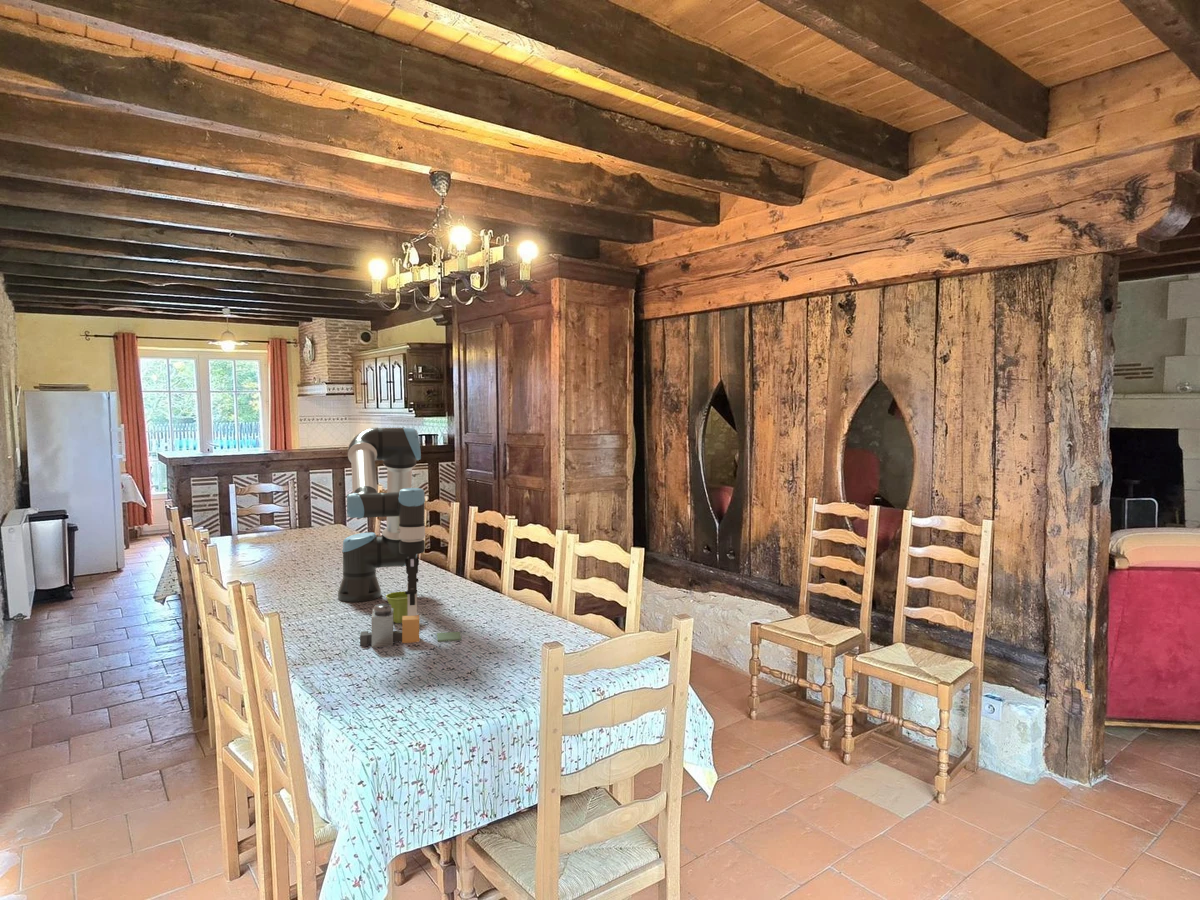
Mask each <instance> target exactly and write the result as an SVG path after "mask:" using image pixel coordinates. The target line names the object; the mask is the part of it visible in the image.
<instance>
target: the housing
mask: <svg viewBox="0 0 1200 900" xmlns="http://www.w3.org/2000/svg"><path fill="white" fill-rule="evenodd" d="M393 631H394V622H393V608H391V604H389V603H379V604H375V605H374V606H373V608H372V614H371V633H372V644H371V648H385V647H393V646H394V643H393Z"/></svg>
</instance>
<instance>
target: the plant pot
mask: <svg viewBox="0 0 1200 900" xmlns="http://www.w3.org/2000/svg"><path fill="white" fill-rule="evenodd" d="M405 591H406V590H405ZM405 591H395V592H390V593H388V594H386V596H385V598H386V600H387V602H388V604H391V608H393V623H394V624H402V616H408V599H407V594H405Z"/></svg>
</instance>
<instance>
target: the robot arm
mask: <svg viewBox="0 0 1200 900" xmlns="http://www.w3.org/2000/svg"><path fill="white" fill-rule="evenodd" d="M419 437H420V436H419V433H418V431H417V429H415V428H413V427H370V428H367V429H364V430H362V431H361V432H359V433H358V434H356V435H355V437H353V439H352V440H351V441H350V442H349V445H348V447H347V458H348V459H347V460H349V462H350V463H351V464H350V465H351V486H352V488H351V490H352V493H348V494H347V496H346V516H347V517H348V518H353V519H356V518H357V519H365V518H383V517H384V518H385V517H386V527H385V528H384V529H383V530H382V532H381V536H377V534H376V533H375V532H372V531H370V532H361V533H354V534H352V535H349V536H347V537H345V538H344V539H343V541H342V550H341V551H342V579H341V581H340V582H341V583H340V585H339V588H338V591H337V599H338V600H340V601H343V602H348V603H349V602H352V603H355V602H367V601H372V600H376V599H378V598H380V597H382V596H381V595H382V589H381V586H380V583H379V580H378V577H377V569H378V568H381V569H383V568H394V567H395V568H397V567H401V568H403V567H405V573H406V575H407V579H406V580H407V585H406V586H407V589H406V590H405V594H407V599H408V616H416V615H418V588H417V586H418V585H417V583H418V582H419V578H418V577H417V574H418V573H419V565H420V557H418V555H419V554H423V553H425V550H426V546H425V545H426V543H425V542H426V541H425V540H424V539H425V538H426V525H425V524H426V523H425V512H426V511H425V509H426V508H425V507H426V506H425V505H426V503H425V502H426V498H425V490H424V489H423V488H419V487H412V482H413V481H412V479H413V478H412V477H413V475H412V474H413V472H412V471H413V469H414V468H415V467H416V466H417V461H419V460H420V461H421V459H422V456H421V455H422V453H421V450H422V449H421V445H420V444H421V443H420V438H419ZM376 461H382V464H383V467H385V468H386V471H387V475H386V476H387V478H386V480H387V481H386V483H387V484H386V486H387V488H386V492H378V482H377V471H376Z"/></svg>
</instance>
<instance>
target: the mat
mask: <svg viewBox="0 0 1200 900" xmlns="http://www.w3.org/2000/svg"><path fill="white" fill-rule="evenodd" d="M436 637H437V642H438V643H440V642H441V643H442V642H453V641H462V635H461V631H451V632H450V631H449V632H437V633H436Z"/></svg>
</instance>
